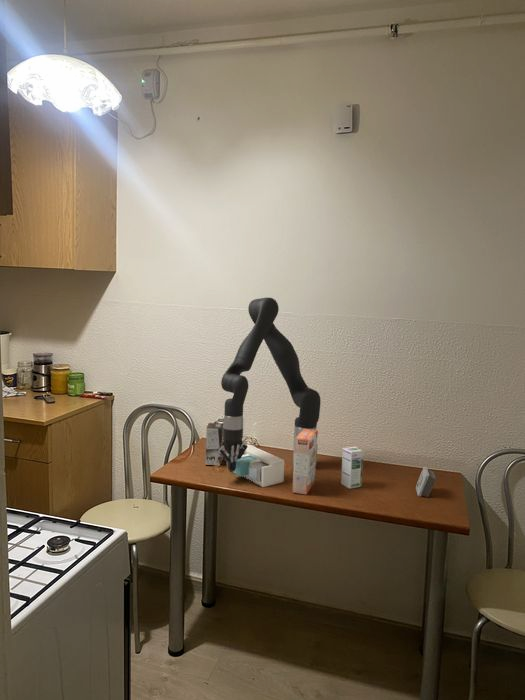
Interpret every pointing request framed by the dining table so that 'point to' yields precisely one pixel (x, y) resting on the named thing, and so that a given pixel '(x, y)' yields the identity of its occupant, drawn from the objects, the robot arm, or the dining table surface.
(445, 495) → the dining table surface
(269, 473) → the socket housing
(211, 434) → the coffee box
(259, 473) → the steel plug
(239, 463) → the teal plug
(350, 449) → the syrup box
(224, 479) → the dining table surface
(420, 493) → the electrical switch
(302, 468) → the cracker box
